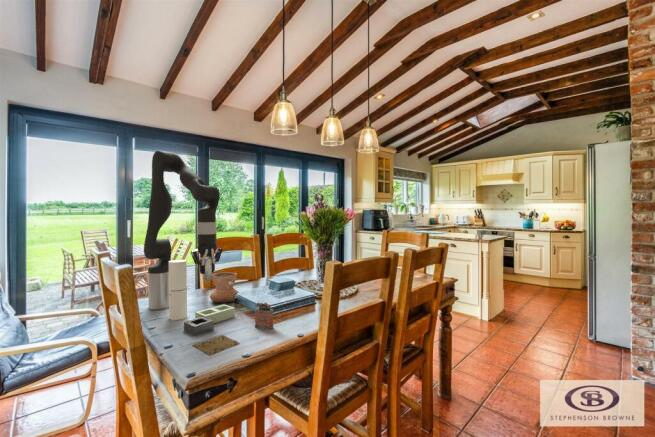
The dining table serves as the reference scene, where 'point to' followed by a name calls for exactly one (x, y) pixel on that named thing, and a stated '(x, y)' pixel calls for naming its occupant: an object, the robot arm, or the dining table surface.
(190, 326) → the block
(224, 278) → the ceramic jug
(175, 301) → the cylindrical container
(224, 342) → the tan flat square slab
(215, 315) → the rack
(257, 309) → the lighter
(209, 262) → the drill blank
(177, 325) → the dining table surface
